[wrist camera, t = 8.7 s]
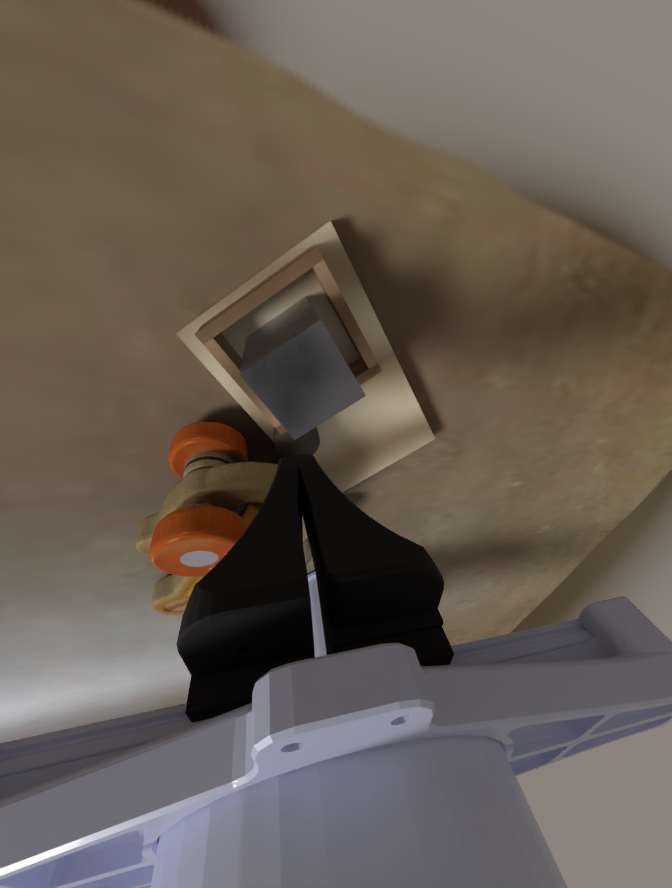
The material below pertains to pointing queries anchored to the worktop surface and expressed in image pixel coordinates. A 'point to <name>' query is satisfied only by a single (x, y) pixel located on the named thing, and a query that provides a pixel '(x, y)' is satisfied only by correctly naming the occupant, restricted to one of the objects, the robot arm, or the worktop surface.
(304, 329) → the grey rectangular block
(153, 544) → the toy helicopter
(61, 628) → the worktop surface
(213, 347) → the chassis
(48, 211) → the worktop surface
